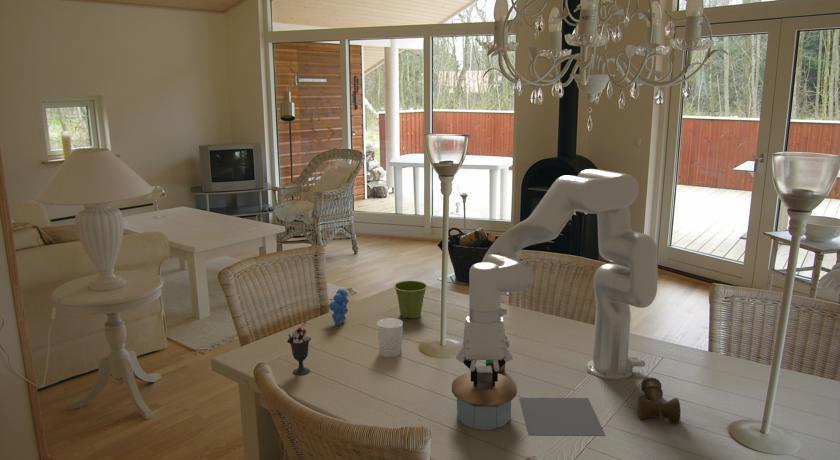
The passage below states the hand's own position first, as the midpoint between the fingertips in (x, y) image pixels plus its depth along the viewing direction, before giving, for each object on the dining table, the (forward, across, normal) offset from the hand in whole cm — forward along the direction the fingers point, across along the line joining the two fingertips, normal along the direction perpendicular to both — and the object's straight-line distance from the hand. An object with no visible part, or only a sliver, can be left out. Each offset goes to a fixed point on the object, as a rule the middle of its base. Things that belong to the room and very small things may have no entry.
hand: (484, 383), depth 157 cm
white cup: (+9, +26, -38) cm, 47 cm away
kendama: (+10, -44, -3) cm, 45 cm away
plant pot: (+9, +21, -70) cm, 74 cm away
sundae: (+9, +51, -25) cm, 58 cm away
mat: (+9, -19, 0) cm, 21 cm away
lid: (+2, 0, 0) cm, 2 cm away
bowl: (+9, 0, 0) cm, 9 cm away
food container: (+9, -6, -26) cm, 28 cm away
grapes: (+9, +46, -63) cm, 79 cm away
